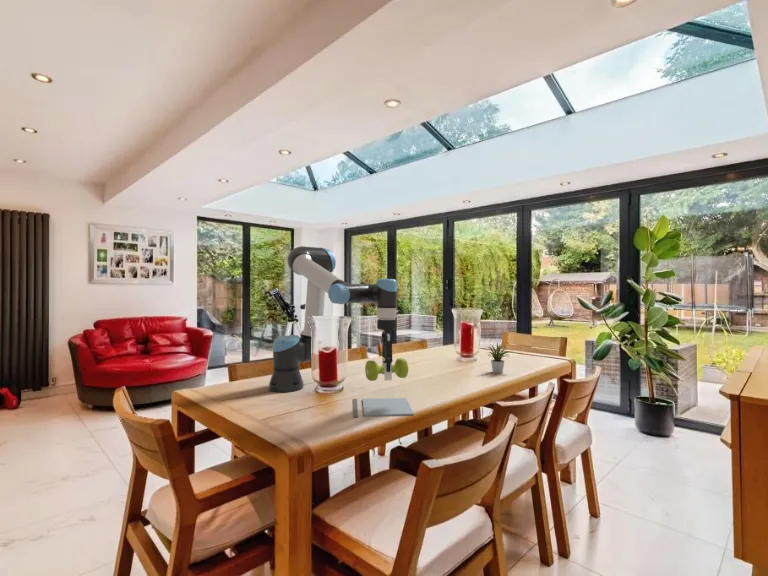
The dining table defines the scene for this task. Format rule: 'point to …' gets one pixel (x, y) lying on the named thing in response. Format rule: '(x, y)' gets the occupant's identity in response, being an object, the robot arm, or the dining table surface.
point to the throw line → (355, 408)
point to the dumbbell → (374, 369)
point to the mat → (386, 407)
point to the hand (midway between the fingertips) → (386, 377)
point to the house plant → (497, 358)
